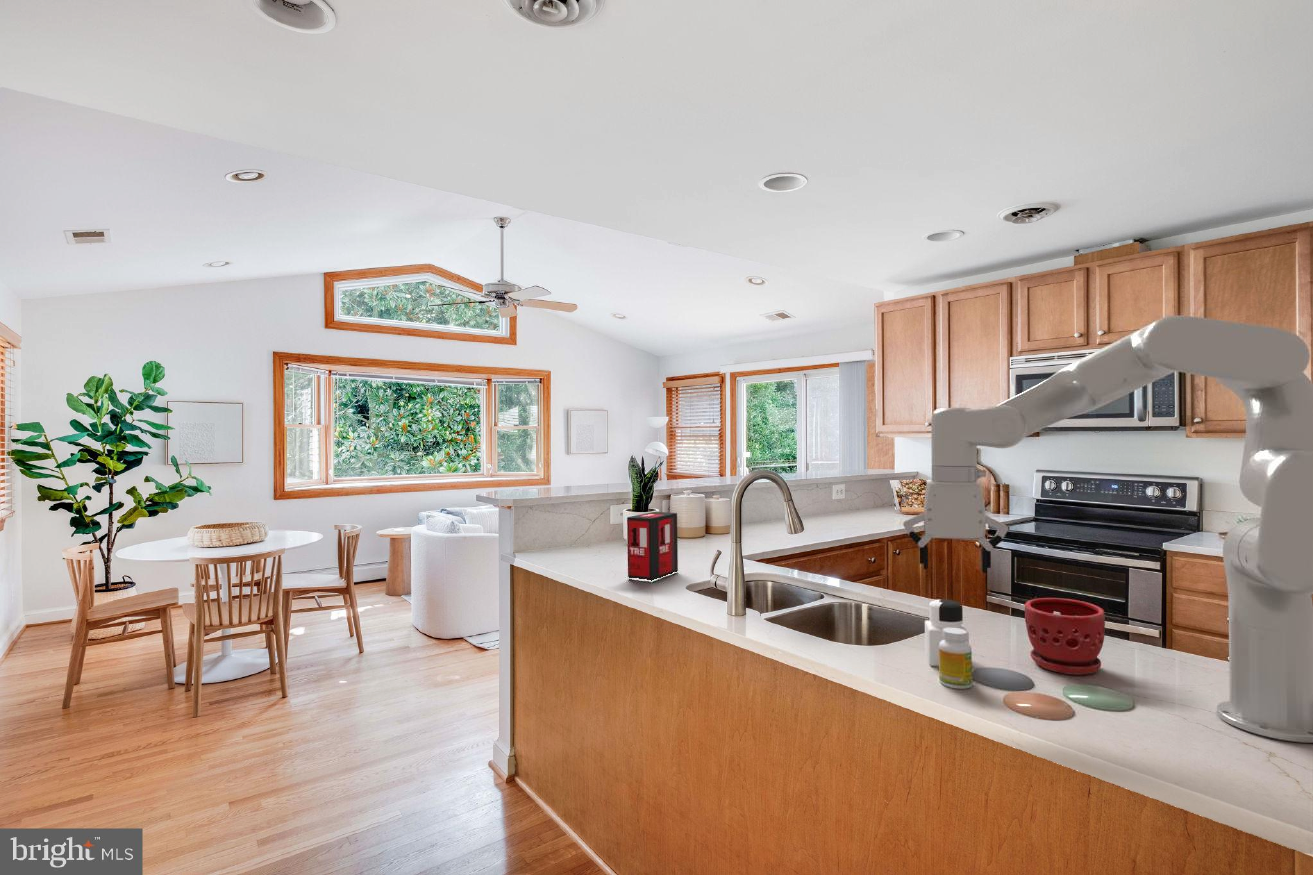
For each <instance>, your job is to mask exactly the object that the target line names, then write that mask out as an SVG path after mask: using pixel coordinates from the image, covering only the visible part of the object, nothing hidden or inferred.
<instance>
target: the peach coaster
mask: <svg viewBox="0 0 1313 875" xmlns="http://www.w3.org/2000/svg"><path fill="white" fill-rule="evenodd" d="M1002 702H1003V705H1004V706H1006V707H1007V708H1008V709H1010V710H1011V711H1013V710H1014V712H1015V711H1016V712H1015V713H1019V714H1021V713H1022V714H1021V715H1024V716H1027V715H1028V717H1031V716H1032V718H1036V717H1038V718H1037V719H1042V720H1043V719H1044V720H1065V719H1068V718H1070V717H1072V716H1071V715H1073V714H1074V712H1073V711H1074V709H1073V706H1072V705H1071V704H1069V703H1068V702H1066V701H1065V700H1063V699H1061V698H1058V697H1054V696H1051V695H1050V694H1049V695H1048V694H1044V693H1038V692H1033V691H1032V692H1031V691H1029V692H1028V691H1014V692H1009V693H1006V694H1005V695H1003V698H1002Z"/></svg>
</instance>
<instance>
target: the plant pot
mask: <svg viewBox="0 0 1313 875" xmlns="http://www.w3.org/2000/svg"><path fill="white" fill-rule="evenodd" d="M1054 612H1059V614H1058V613H1057V614H1055V613H1054ZM1076 614H1079V615H1076ZM1105 614H1106V613H1105V610H1104V609H1103V608H1101V607H1100V606H1097V605H1095V604H1092V603H1090V602H1086V601H1082V600H1081V601H1080V600H1077V599H1070V598H1061V597H1060V598H1059V597H1043V598H1041V597H1039V598H1033V599H1030V600H1027V601H1026V602H1025V603H1024V620H1025V627H1026V632H1027V636H1028V639H1029V642H1030V644H1031V646H1032V648H1033V649H1032V650H1030V652H1029V654H1030V658H1031V659H1032V660H1033V662H1034V663H1036V664H1037V665H1038V666H1040V667H1042V668H1044V669H1047V670H1048V671H1049V670H1050V671H1052V672H1055V673H1061V674H1065V675H1075V676H1076V675H1079V676H1080V675H1082V676H1083V675H1091V674H1093V673H1095V672H1097V671H1098V670H1100V669H1101V666H1102V661H1101V659H1100V658H1099V657H1098V656H1099V655H1100V653H1101V651H1102V648H1103V646H1104V641H1105V627H1106V616H1105Z"/></svg>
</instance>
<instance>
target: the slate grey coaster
mask: <svg viewBox="0 0 1313 875" xmlns="http://www.w3.org/2000/svg"><path fill="white" fill-rule="evenodd" d="M972 680H974V681H975V682H977V683H978V684H979V685H983V686H986V687H989V688H993V689H998V690H1005V691H1025V690H1029V689H1031V688H1033V686H1034V681H1033V679H1032V678H1031V677H1030V676H1028V675H1026V674H1024V673H1021V672H1019V671H1015V670H1012V669H1007V668H1002V667H1001V668H1000V667H979V668H975V669H972Z"/></svg>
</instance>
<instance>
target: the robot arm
mask: <svg viewBox="0 0 1313 875" xmlns="http://www.w3.org/2000/svg"><path fill="white" fill-rule="evenodd" d="M1310 354H1311V353H1310V350H1309V347H1308V345H1307V343H1306V342H1305V340H1303V339H1302V338H1301V337H1300V336H1299V335H1298V334H1296V333H1294V332H1292V331H1289V330H1286V329H1284V328H1280V327H1275V326H1269V325H1261V324H1252V323H1246V322H1245V323H1244V322H1238V321H1237V322H1235V321H1228V320H1221V319H1214V318H1208V317H1198V316H1191V315H1189V316H1188V315H1169V316H1166V317H1162V318H1159V319H1157V320H1155V321H1153V322H1151V323H1149V324H1148V325H1145V326H1144V327H1142V328H1139V329H1138V330H1135V331H1133V332H1132V333H1130V334H1128V335H1126V336H1124V337H1122V338H1120V339H1118V340H1116V341H1114V342H1112V343H1110V344H1108V345H1106V346H1104V347H1103V348H1100V349H1099V350H1098V349H1097V350H1096V351H1094V352H1092V353H1091V354H1089V355H1087V356H1084V357H1082V358H1080V359H1078V360H1076V361H1074V362H1072V363H1070V364H1068V365H1067V366H1065V367H1063V368H1061V369H1060V370H1058V371H1057V372H1056V373H1054V374H1053V375H1051V376H1049V377H1048V378H1046V379H1045V380H1043V381H1042V382H1040V383H1038V384H1036V385H1034V386H1032V387H1030V388H1028V389H1027V390H1024V391H1023V392H1021V393H1019V394H1017V395H1015V396H1013V397H1011V398H1008V399H1007V400H1005V401H1003V402H1001V403H999V404H997V405H994V406H987V407H985V406H984V407H979V408H978V407H977V408H969V407H941V408H937V409H935V410H933V411H932V413H931V419H930V420H931V421H930V422H931V425H930V426H931V428H930V429H931V433H930V435H931V438H930V439H931V442H930V443H931V449H930V450H931V481H930V482H929V481H928V482H927V483H926V488H925V494H924V505H923V506H924V507H923V508H924V509H923V512H922V513H920V514H918V515H915V516H913V517H911V518H909V519H906V520H904V521H903V524H902V525H903V527H904V529H905V531H906V532H907V534H908V536H909V538H910V539H911V540H912V541H913V542H914V543H915V544H916V545H917V546H918V547H919V564H923V570H927V569H929V547H928V545H927V544H928V543H929V542H931V540H932V539H933V538H934V539H935V538H936V539H949V540H950V539H951V540H977V541H978V542H979V544H980V545H981V546H982V547H981V549H980V570H981V573H982V574H987V573H988V569H991V567H992V565H991V564H992V562H991V561H992V557H991V556H992V555H991V554H992V553H991V552H992V551H993V549H994V548H995V547H997V546H998V545H999V544H1000V543H1002V541H1003V539H1004V537H1006V535H1007V533H1008V531H1009V527H1008V526H1007V525H1006V524H1004V523H1003V522H1000V521H999V520H996V519H994V518H993V517H990V516H989V515H986V508H985V499H984V492H983V491H984V490H983V486H982V484H981V483H978V479H981V478H986V477H987V470H986V469H981V468H980V467H978V466H977V465H978V447H986V448H987V447H988V448H994V449H1009V448H1012V447H1014V446H1016V445H1018V444H1020V443H1021V441H1023V440H1024V438H1026V437H1029V436H1030V435H1033V434H1034V433H1037V432H1039V431H1041V430H1043V429H1045V428H1047V427H1049V426H1051V425H1054V424H1056V423H1059V422H1061V421H1064V420H1066V419H1068V418H1072V417H1075V416H1079V415H1080V416H1081V415H1084V414H1087V413H1090V412H1092V411H1094V410H1097V409H1100V408H1101V407H1104V406H1106V405H1107V404H1109V403H1112V402H1114V401H1116V400H1117V399H1119V398H1122V397H1124V396H1126V395H1128V394H1130V393H1132V392H1135V391H1137V390H1139V389H1141V388H1143V387H1146V386H1147V385H1150V384H1152V383H1154V382H1156V381H1158V380H1160V379H1162V378H1165V377H1166V376H1168V375H1171V374H1173V373H1176V372H1179V373H1185V374H1190V375H1195V376H1201V377H1205V378H1206V377H1207V378H1211V379H1212V378H1213V379H1214V380H1215V381H1216V382H1217V383H1218V384H1219V385H1221V386H1223V387H1225V388H1226V389H1228V390H1230V391H1231V392H1233V393H1234V394H1235V395H1236V396H1237V397H1238V399H1240V401H1241V402H1242V404H1243V407H1244V409H1245V410H1244V411H1245V416H1246V420H1245V421H1246V425H1245V440H1244V444H1243V445H1244V447H1243V454H1242V458H1241V460H1242V461H1241V466H1240V467H1241V468H1240V474H1239V480H1238V483H1239V488H1240V491H1241V493H1242V494H1243V496H1244V498H1246V499H1247V500H1248V501H1249V502H1250V503H1252V504H1253V505H1255V506H1258V507H1260V508H1261V510H1260V518H1258V517H1257V518H1251V519H1246V520H1244V521H1241V522H1239V523H1237V524H1235V525H1234V526H1233V527H1232V528H1230V530H1229V531H1228V532H1227V534H1226V536H1225V538H1224V539H1223V540H1224V541H1223V546H1222V559H1223V560H1222V561H1223V567H1224V572H1225V579H1226V585H1227V598H1228V600H1227V601H1228V658H1229V659H1228V661H1229V662H1228V664H1229V665H1228V669H1229V671H1228V672H1229V675H1228V676H1229V680H1228V681H1229V700H1227V701H1223V702H1220V703H1217V705H1216V714H1217V716H1218V717H1219V718H1220V719H1222V721H1224V722H1226V723H1227V724H1229V725H1231V726H1233V727H1236V728H1238V729H1241V730H1244V731H1247V732H1249V733H1251V734H1256V735H1259V736H1263V737H1266V738H1271V739H1275V740H1281V741H1286V742H1294V743H1295V742H1296V743H1306V744H1307V743H1308V744H1309V743H1310V744H1312V743H1313V599H1312V595H1313V382H1312V381H1311V379H1310V378H1309V377H1308V376H1307V374H1305V373H1304V372H1305V370H1307V367H1308V366H1309V364H1310V357H1311V355H1310ZM919 523H923V528H924V532H923V535H921V536H920V535H919V534H918V533H917V532H916V531H915V529H914V526H915V525H918V524H919ZM986 525H988V526H991V527H992V528H994V529H996V533H995V534H994V535H993V536H992V537H991V538H989V540H988V539H987V538H986V532H987V529H986V528H987V526H986Z"/></svg>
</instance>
